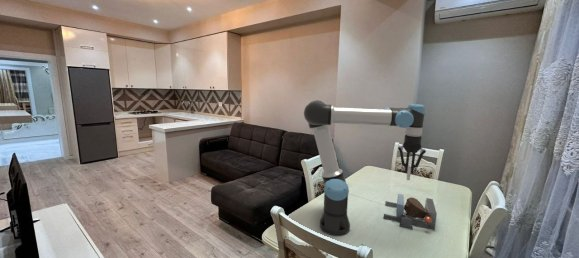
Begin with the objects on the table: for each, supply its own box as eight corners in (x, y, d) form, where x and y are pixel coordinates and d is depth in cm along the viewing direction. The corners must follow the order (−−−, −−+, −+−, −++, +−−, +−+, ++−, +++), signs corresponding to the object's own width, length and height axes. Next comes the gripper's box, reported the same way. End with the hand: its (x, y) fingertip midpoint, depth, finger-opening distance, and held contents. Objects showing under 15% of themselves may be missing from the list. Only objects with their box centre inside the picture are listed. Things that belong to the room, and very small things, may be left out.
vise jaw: (402, 221, 125) (404, 205, 124) (396, 219, 126) (397, 204, 125) (402, 209, 138) (404, 194, 136) (396, 207, 139) (397, 193, 137)
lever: (405, 222, 119) (432, 224, 114) (404, 216, 119) (431, 218, 114) (404, 219, 122) (431, 221, 117) (404, 213, 122) (431, 215, 117)
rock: (432, 215, 122) (421, 207, 119) (418, 228, 125) (406, 220, 122) (418, 199, 134) (407, 191, 131) (405, 211, 136) (394, 204, 133)
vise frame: (435, 235, 113) (437, 218, 112) (382, 222, 124) (384, 207, 122) (430, 213, 133) (432, 199, 132) (385, 204, 143) (386, 190, 142)
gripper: (427, 135, 119) (422, 179, 123) (399, 132, 125) (395, 174, 129) (428, 137, 112) (422, 184, 116) (398, 134, 118) (394, 179, 122)
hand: (408, 179), depth 123 cm, fingers closed
